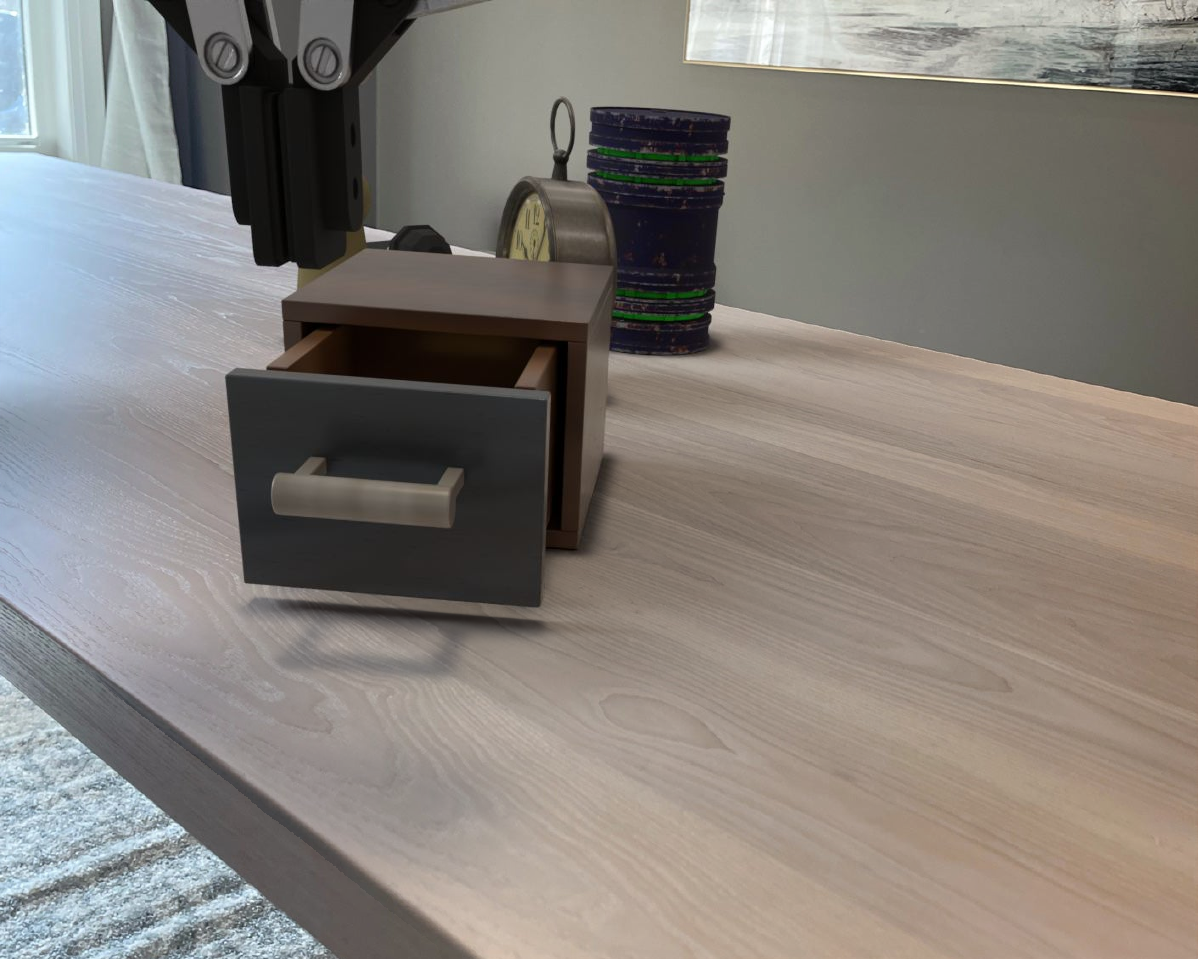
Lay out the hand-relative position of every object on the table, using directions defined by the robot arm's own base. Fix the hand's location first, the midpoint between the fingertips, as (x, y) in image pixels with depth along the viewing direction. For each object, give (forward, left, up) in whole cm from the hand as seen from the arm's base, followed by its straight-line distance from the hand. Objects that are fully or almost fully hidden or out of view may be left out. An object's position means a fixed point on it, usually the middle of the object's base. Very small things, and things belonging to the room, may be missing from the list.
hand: (302, 259), depth 34 cm
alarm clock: (+2, +48, -15) cm, 50 cm away
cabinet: (0, +26, -14) cm, 30 cm away
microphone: (-16, +79, -15) cm, 82 cm away
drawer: (0, +14, -13) cm, 20 cm away
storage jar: (+7, +64, -14) cm, 66 cm away
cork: (-14, +56, -14) cm, 60 cm away
